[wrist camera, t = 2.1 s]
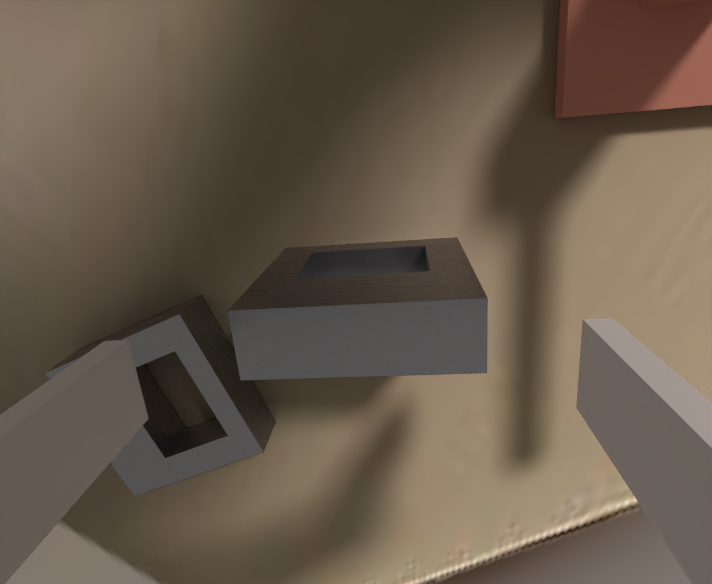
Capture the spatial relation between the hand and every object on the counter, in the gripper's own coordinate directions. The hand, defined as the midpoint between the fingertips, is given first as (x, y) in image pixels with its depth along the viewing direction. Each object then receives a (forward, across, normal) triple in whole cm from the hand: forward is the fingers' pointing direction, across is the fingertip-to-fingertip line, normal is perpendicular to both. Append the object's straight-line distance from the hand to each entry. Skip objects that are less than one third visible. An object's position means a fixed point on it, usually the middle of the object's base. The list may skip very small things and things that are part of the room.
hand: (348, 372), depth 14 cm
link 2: (+9, 0, 0) cm, 9 cm away
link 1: (+9, -11, -6) cm, 15 cm away
